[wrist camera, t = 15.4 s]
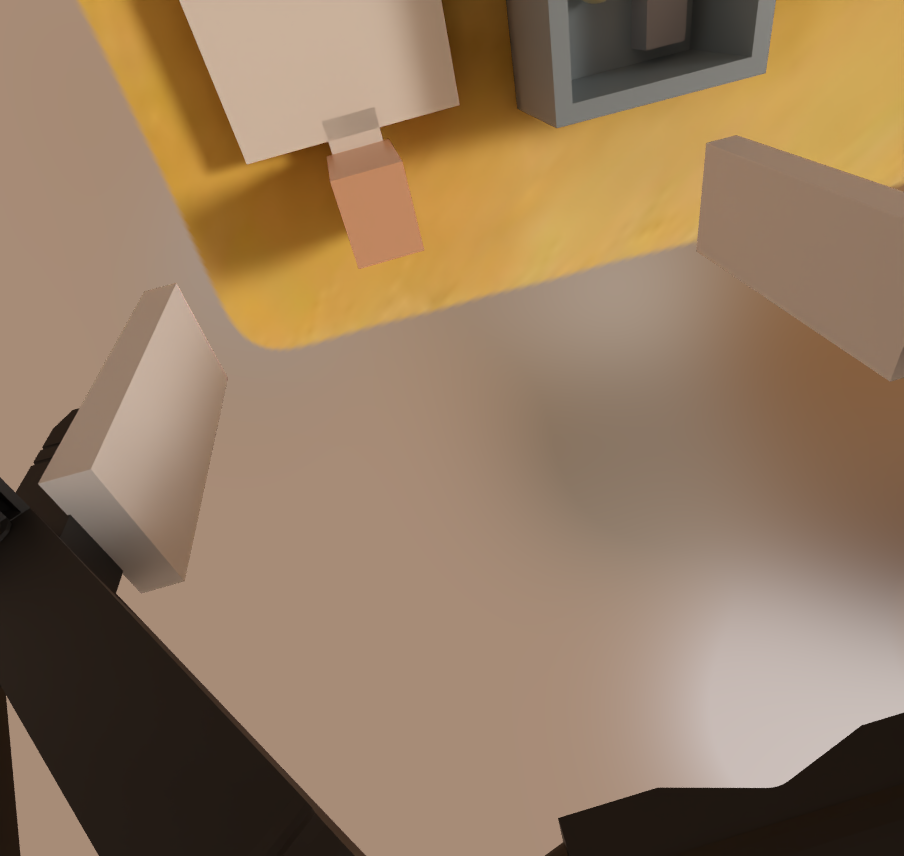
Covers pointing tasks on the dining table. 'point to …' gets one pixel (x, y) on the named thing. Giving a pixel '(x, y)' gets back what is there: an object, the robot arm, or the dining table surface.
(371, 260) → the lid
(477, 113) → the dining table surface
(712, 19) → the tub
